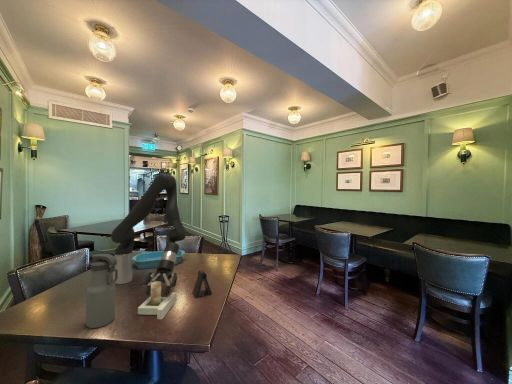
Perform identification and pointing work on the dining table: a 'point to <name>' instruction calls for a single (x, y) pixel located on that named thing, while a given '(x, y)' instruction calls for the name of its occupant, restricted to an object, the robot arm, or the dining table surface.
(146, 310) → the pale green square frame
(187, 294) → the dining table surface
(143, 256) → the casserole dish
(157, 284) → the dowel
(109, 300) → the water bottle
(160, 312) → the backstop wall
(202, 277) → the phone stand
